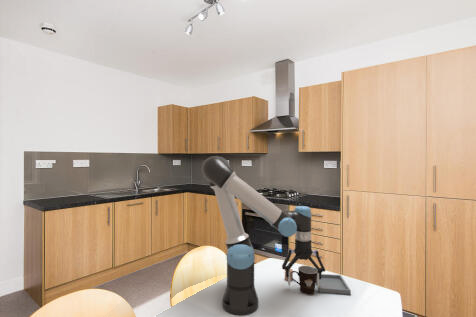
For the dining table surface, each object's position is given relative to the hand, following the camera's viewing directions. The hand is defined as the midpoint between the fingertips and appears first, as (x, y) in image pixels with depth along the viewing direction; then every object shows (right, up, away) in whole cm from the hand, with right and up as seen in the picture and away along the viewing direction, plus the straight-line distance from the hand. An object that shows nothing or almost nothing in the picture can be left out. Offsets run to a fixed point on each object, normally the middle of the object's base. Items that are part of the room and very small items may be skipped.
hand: (303, 285), depth 116 cm
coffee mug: (0, -3, 0) cm, 3 cm away
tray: (+15, -3, +4) cm, 15 cm away
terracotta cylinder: (-5, -3, +11) cm, 12 cm away
